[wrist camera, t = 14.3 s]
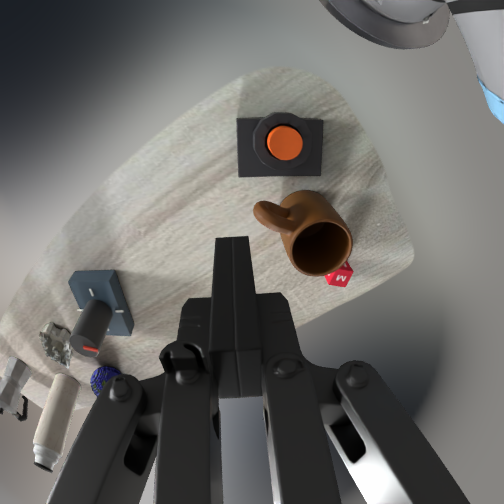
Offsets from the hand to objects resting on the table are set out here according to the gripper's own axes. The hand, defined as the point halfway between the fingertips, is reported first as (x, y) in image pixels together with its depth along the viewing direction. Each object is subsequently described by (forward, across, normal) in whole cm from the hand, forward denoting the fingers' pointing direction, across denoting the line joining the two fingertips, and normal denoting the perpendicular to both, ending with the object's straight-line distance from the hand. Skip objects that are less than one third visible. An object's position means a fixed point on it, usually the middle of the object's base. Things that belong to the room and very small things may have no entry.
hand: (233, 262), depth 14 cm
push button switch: (+23, +6, +2) cm, 24 cm away
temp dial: (+20, -23, -21) cm, 38 cm away
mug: (+23, +7, -7) cm, 25 cm away
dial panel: (+23, -23, -21) cm, 39 cm away
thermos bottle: (+24, -48, -51) cm, 74 cm away
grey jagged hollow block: (+24, -40, -33) cm, 57 cm away
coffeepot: (+24, -66, -49) cm, 86 cm away
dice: (+23, +15, -17) cm, 33 cm away
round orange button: (+20, +6, +3) cm, 21 cm away
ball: (+24, -30, -43) cm, 58 cm away
